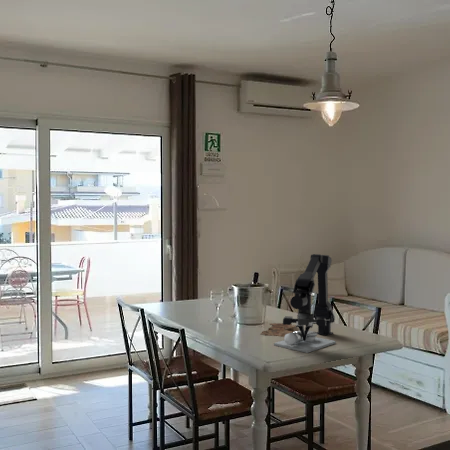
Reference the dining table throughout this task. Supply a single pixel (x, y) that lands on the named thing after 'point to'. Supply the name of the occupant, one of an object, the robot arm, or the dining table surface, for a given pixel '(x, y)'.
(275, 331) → the fossil
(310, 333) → the elbow
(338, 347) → the dining table surface
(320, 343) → the grey plate with knobs
